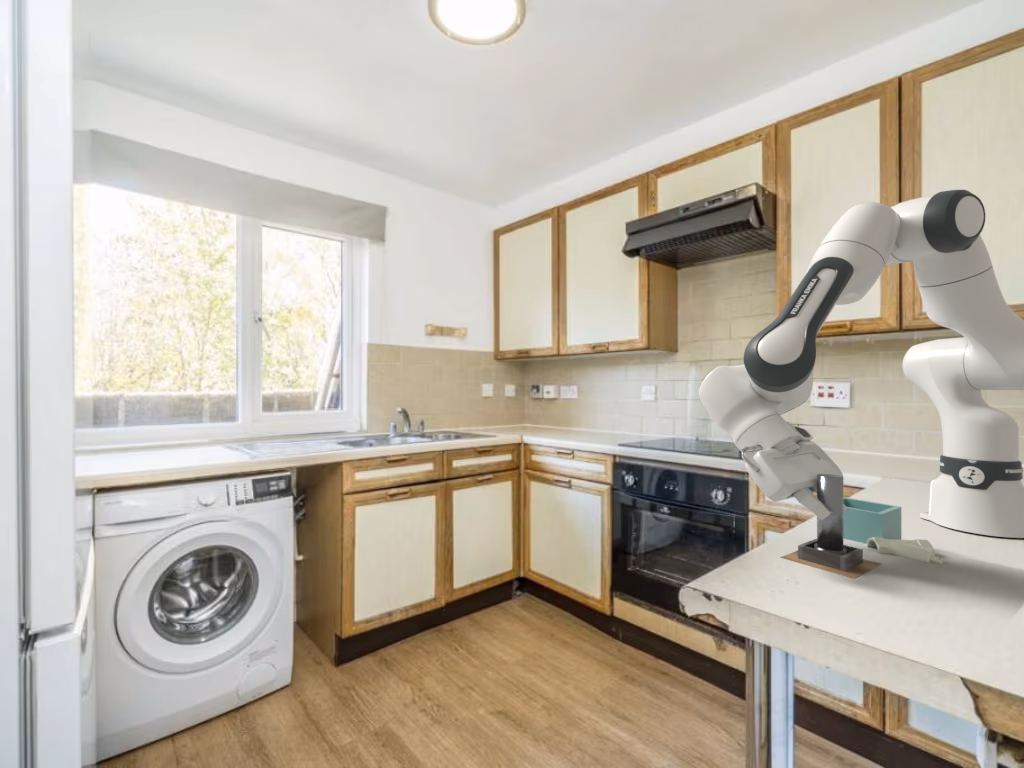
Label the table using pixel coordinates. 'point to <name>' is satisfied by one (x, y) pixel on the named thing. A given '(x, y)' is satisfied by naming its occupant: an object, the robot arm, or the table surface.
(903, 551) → the pipe fitting
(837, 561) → the mount plate
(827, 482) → the strut
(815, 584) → the table surface
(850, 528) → the bin
